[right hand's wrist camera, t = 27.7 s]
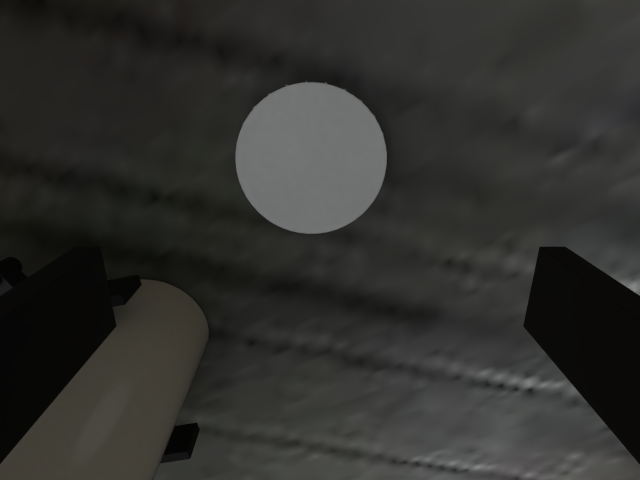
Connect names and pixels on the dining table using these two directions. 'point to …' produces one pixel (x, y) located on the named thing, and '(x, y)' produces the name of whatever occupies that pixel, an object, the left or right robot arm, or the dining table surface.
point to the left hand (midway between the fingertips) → (166, 370)
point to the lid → (311, 157)
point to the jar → (120, 396)
